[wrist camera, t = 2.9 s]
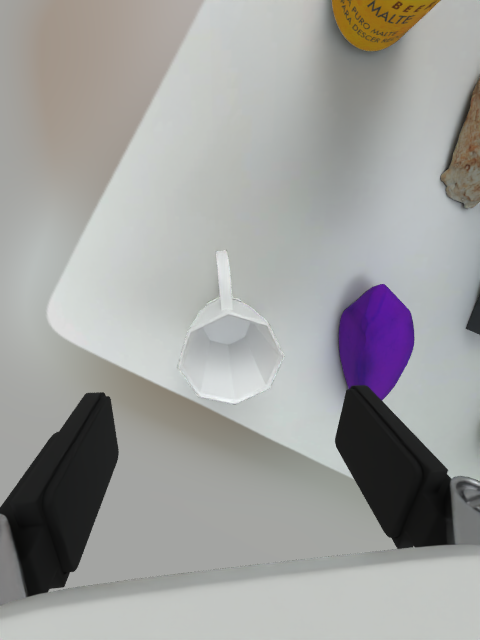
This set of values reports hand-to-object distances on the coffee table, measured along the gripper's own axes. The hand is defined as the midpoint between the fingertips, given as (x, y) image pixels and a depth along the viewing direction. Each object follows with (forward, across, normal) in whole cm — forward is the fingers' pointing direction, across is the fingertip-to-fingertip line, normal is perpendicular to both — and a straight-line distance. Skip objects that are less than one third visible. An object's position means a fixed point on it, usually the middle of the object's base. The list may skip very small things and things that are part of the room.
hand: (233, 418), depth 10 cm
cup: (+15, 0, 0) cm, 15 cm away
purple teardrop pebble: (+15, -14, +4) cm, 21 cm away
